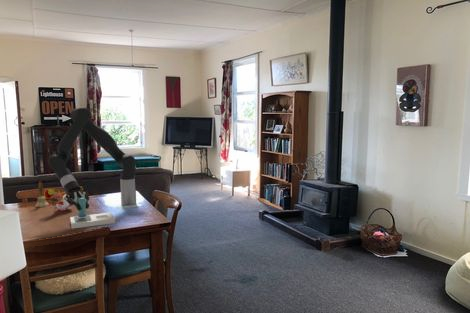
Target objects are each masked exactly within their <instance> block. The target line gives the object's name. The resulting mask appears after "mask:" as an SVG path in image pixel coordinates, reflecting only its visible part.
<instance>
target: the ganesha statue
mask: <svg viewBox="0 0 470 313" xmlns="http://www.w3.org/2000/svg"><path fill="white" fill-rule="evenodd" d="M66 195H68V194H67V193H66V191H63V192H60V189H58V188H53V187H52V189H49V188H47V189H45V191H43V197H45V199H47V200H50V202H51V205H52V206H53V207H54V206H55V207H54V209H55V210H56V209H57V210H56V212H59V211H60V212H64V211H67V210H69V209H71V208H72V206H73V205H70V204H69V203H68V202H67V201H66V200H65V199H64V198H65V196H66ZM71 199H72V198H71ZM70 202H71V201H70Z"/></svg>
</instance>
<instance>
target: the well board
mask: <svg viewBox="0 0 470 313" xmlns="http://www.w3.org/2000/svg"><path fill="white" fill-rule="evenodd" d="M89 215H90V217H91V221H83V222H75V219H74V217H78V215H77V216H70V217H69V220H70V226H71V229H79V228H87V227H94V226H95V227H96V226H102V225H111V224H115V223H116V217H115V216H114V214H113V213H112V212H111V211H110V212H103V213H95V214H93V213H92V214H89ZM86 216H87V214H86Z"/></svg>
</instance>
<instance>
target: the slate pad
mask: <svg viewBox="0 0 470 313" xmlns="http://www.w3.org/2000/svg"><path fill="white" fill-rule="evenodd" d="M86 215H87V214H86ZM90 215H91V214H88V215H87V216H86V217H76V216H73V217H74V219H75V222H83V221H91V217H90Z"/></svg>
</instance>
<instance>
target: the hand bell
mask: <svg viewBox="0 0 470 313" xmlns="http://www.w3.org/2000/svg"><path fill="white" fill-rule="evenodd" d="M37 186H38V191H39V197H37V201H36V204H35V206H34V207H36V208H44V207H48V206H49V205H50V204H49V203H48V202H47V200H46V198H45V196H44V193H43V188H44V185H43V183H42V181H39V182H38V185H37Z"/></svg>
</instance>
